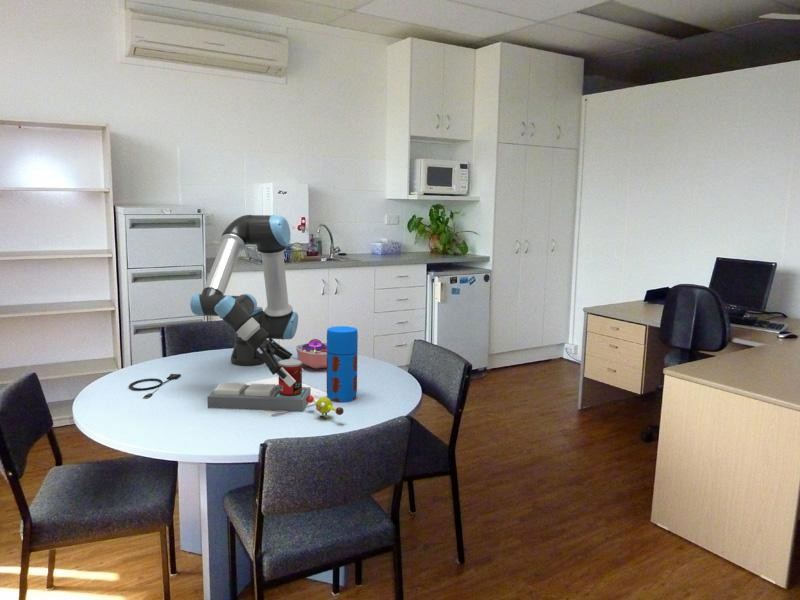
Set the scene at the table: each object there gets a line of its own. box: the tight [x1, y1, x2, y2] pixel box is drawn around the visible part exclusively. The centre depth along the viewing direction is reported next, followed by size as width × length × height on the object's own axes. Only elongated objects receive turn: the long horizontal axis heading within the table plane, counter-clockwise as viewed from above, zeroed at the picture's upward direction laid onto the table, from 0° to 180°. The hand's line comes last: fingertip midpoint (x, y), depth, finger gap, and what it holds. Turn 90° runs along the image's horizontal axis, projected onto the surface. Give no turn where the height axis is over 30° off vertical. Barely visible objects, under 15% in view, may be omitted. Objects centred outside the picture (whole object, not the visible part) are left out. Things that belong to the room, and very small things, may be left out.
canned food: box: [278, 358, 303, 396], centre depth 217 cm, size 8×8×11 cm
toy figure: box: [306, 394, 344, 419], centre depth 205 cm, size 18×6×7 cm, turn 45°
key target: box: [275, 390, 305, 398], centre depth 218 cm, size 8×8×4 cm
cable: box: [128, 373, 182, 400], centre depth 235 cm, size 14×28×2 cm, turn 175°
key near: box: [213, 382, 247, 395], centre depth 219 cm, size 8×8×4 cm
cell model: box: [295, 338, 327, 370], centre depth 265 cm, size 17×20×11 cm
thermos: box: [326, 325, 359, 403], centre depth 224 cm, size 11×11×25 cm
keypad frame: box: [206, 384, 312, 412], centre depth 218 cm, size 14×32×4 cm, turn 87°
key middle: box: [245, 383, 277, 396], centre depth 218 cm, size 8×8×4 cm
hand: (297, 378), depth 217 cm, fingers open, 13 cm apart
